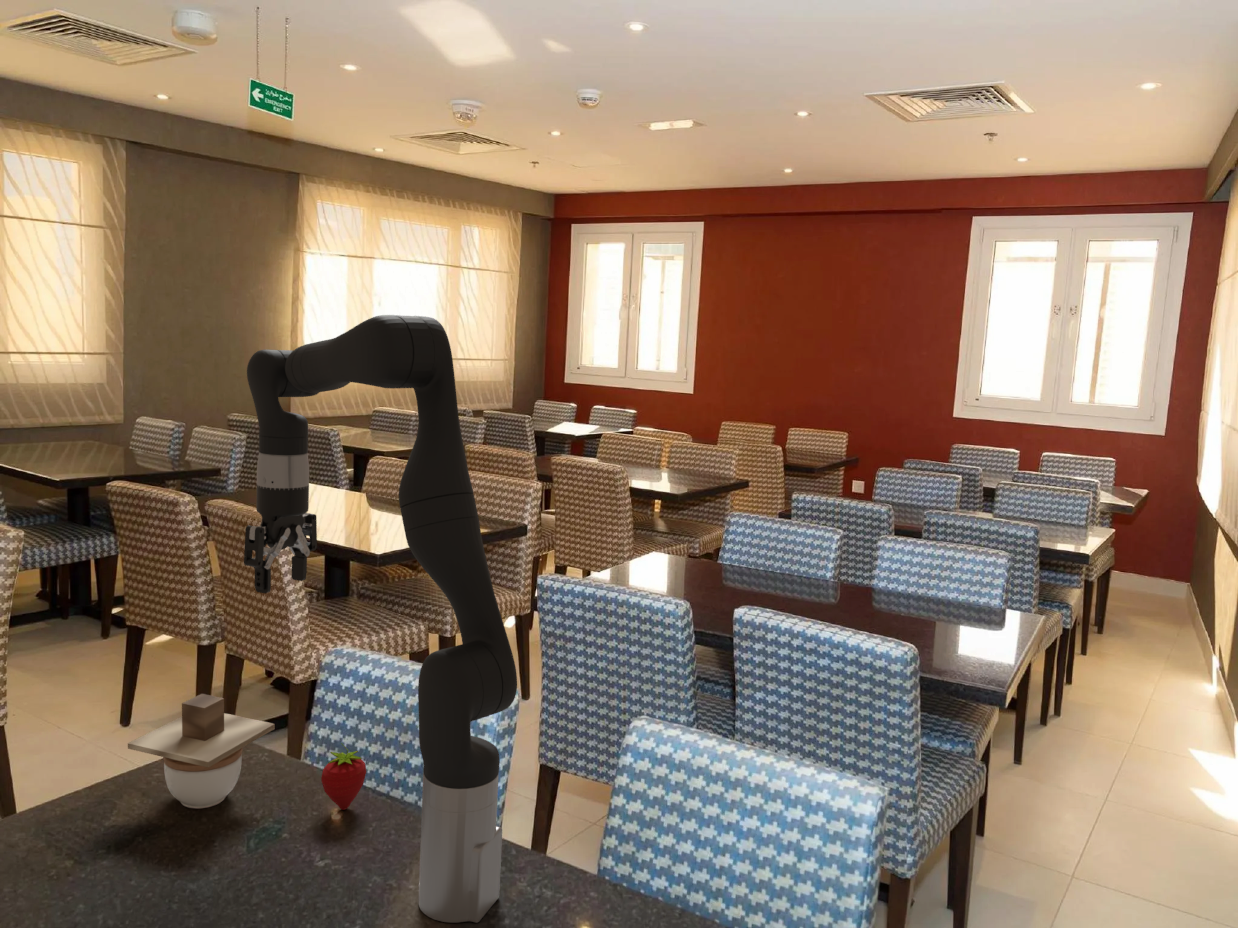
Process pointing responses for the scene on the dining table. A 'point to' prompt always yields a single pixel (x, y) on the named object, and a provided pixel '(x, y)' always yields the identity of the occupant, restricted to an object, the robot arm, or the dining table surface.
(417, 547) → the robot arm
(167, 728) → the lid
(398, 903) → the dining table surface
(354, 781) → the strawberry
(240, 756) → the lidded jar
